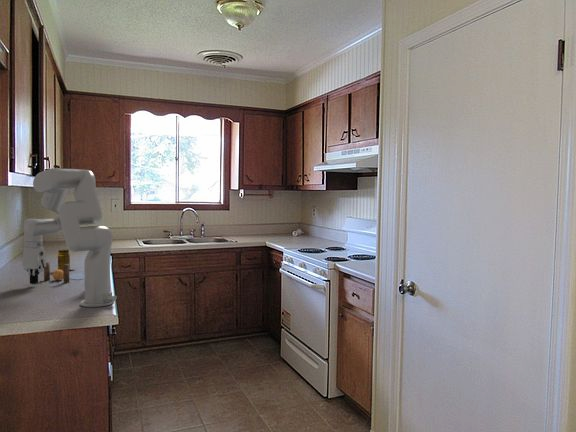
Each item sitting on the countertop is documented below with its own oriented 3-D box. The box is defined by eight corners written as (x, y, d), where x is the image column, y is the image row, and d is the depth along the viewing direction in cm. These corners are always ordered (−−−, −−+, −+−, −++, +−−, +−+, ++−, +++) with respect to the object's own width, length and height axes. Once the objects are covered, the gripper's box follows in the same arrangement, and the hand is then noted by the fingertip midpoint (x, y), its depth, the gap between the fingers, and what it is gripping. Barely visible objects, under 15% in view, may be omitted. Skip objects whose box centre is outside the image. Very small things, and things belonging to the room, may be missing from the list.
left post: (51, 280, 224) (50, 262, 223) (46, 281, 221) (46, 263, 221) (47, 279, 225) (46, 262, 224) (42, 280, 222) (42, 262, 222)
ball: (66, 280, 225) (67, 269, 226) (57, 280, 220) (58, 269, 221) (58, 279, 227) (59, 269, 228) (49, 280, 222) (50, 269, 223)
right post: (70, 282, 220) (70, 264, 219) (66, 283, 217) (66, 265, 217) (66, 281, 221) (66, 263, 220) (62, 282, 218) (62, 264, 218)
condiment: (54, 271, 249) (54, 250, 248) (67, 269, 257) (67, 248, 256) (63, 272, 246) (63, 251, 245) (76, 270, 254) (76, 249, 253)
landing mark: (98, 275, 239) (98, 275, 239) (78, 280, 225) (78, 279, 225) (78, 273, 243) (78, 273, 243) (57, 277, 230) (57, 277, 230)
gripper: (52, 244, 209) (52, 283, 210) (28, 243, 214) (29, 280, 215) (38, 246, 202) (39, 286, 203) (14, 244, 207) (15, 283, 208)
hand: (34, 283), depth 209 cm, fingers closed
